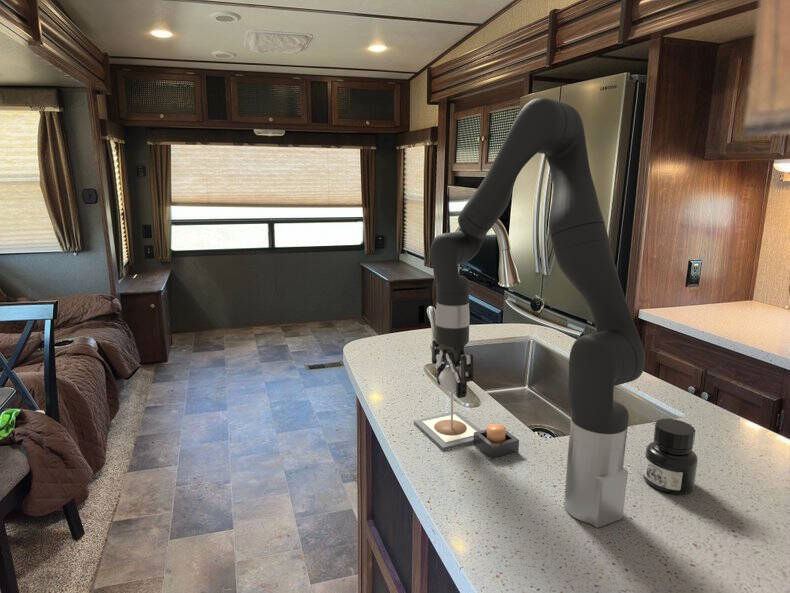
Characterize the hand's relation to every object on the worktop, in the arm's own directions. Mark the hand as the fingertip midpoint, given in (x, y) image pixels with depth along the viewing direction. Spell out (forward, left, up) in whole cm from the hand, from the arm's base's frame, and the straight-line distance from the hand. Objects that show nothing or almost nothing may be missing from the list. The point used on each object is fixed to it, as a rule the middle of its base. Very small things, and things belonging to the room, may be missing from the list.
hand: (451, 390), depth 122 cm
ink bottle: (-36, -28, -11) cm, 47 cm away
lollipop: (0, 0, -10) cm, 10 cm away
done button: (-11, -5, -8) cm, 15 cm away
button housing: (-11, -5, -10) cm, 16 cm away
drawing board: (0, 0, -10) cm, 10 cm away
